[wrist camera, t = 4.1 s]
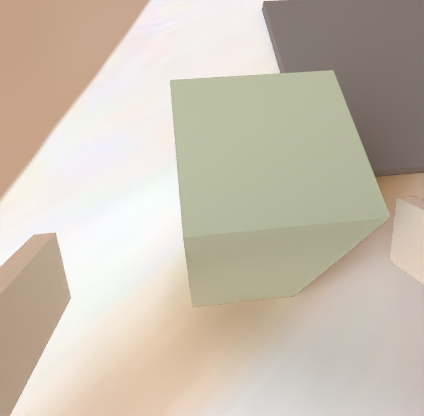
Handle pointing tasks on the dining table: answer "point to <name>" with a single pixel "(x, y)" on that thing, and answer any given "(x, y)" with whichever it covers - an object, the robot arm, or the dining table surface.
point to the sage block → (268, 183)
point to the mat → (363, 67)
